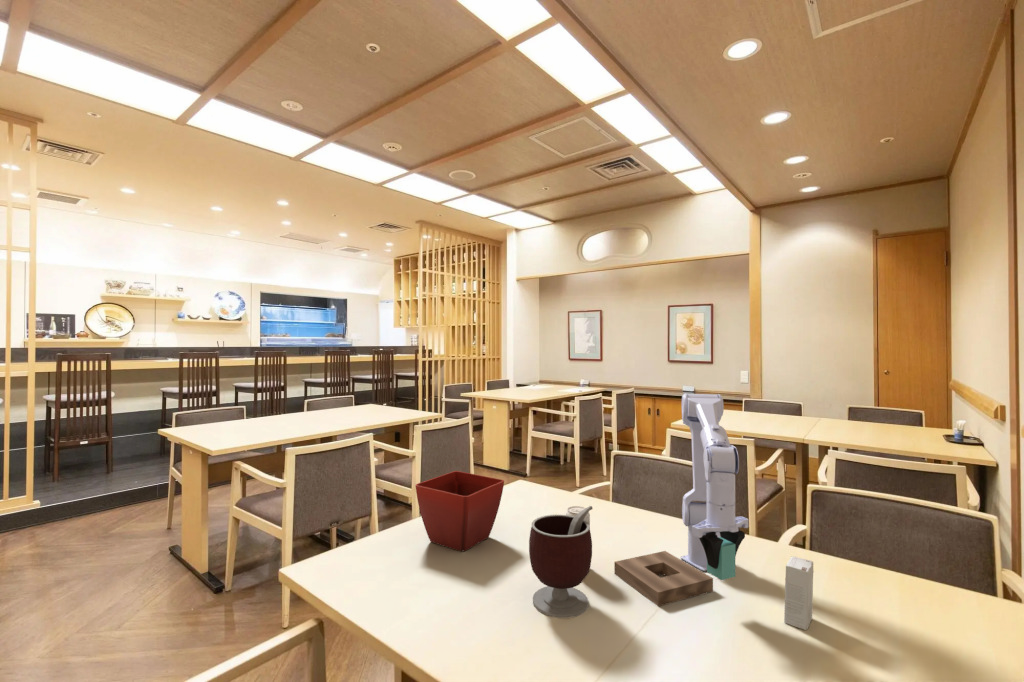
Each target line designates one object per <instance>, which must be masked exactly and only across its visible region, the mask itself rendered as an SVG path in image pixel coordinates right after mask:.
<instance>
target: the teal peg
mask: <svg viewBox="0 0 1024 682" xmlns="http://www.w3.org/2000/svg"><path fill="white" fill-rule="evenodd" d="M718 538H720V539H723V540H724V541H723V543H722V545H721V548H720V553H719V565H718V568H717V569H714V568H713V567H711V566H709V565H708V562H707V570H706V573H707V574H710V575H711V576H713V577H715V578H717V579H718V580H721V581H724V580H727V579H732V578H736V557H735V544H734V543H732V542H730V541H728V540H726V539H724V538H722V537H718Z"/></svg>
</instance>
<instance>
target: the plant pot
mask: <svg viewBox="0 0 1024 682" xmlns="http://www.w3.org/2000/svg"><path fill="white" fill-rule="evenodd" d="M504 485H505V480H504V479H500V478H497V477H495V478H494V477H490V476H485V475H482V474H481V475H480V474H476V473H472V472H471V473H469V472H465V471H460V470H454V471H450V472H448V473H445V474H441V475H440V476H436V477H434V478H431V479H428V480H425V481H421V482H419V483H416V484H415V492H416V498H417V504H418V508H419V512H420V516H421V519H422V523H423V525H424V529H425V532H426V534H427V536H428V540H429V541H430V542H431V543H434V544H437V545H440V546H442V547H445V548H449V549H453V550H456V551H459V552H465V551H467V550H469V549H471V548H473V547H475V546H476V545H478V544H479V543H481V542H484V541H485V540H487V539H488V538H489V537H490V535H491V532H492V529H493V527H494V524H495V521H496V518H497V515H498V513H499V509H500V505H501V500H502V495H503V492H504V491H503V490H504Z"/></svg>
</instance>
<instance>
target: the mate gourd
mask: <svg viewBox="0 0 1024 682" xmlns="http://www.w3.org/2000/svg"><path fill="white" fill-rule="evenodd" d="M592 510H593V506H592V505H589V506H588V507H585V509H584V510H582V511H581V512H579V513H578V514H577V515H576V516H575V517H574V516H569V515H566V514H548V515H543V516H539V517H537V518H535V519H534V520H533V521H532V522H531V527H530V532H529V540H528V553H529V560H530V562H529V563H530V566H531V570H532V572H533V574H534V575H535V576H536V577H537V579H538V580H539V581H540V583H542V585H545V586H544V587H541V588H540V589H537V590H536V591H535V592H534V593H533V596H532V605H533V607H534V608H535V609H536V610H537V611H538V612H540V613H541V614H543V615H546V616H548V617H552V618H557V619H569V618H575V617H577V616H580V615H582V614H583V613H585V612H586V611H587V610H588V608H589V598H588V597H587V595H586V594H585V593H584V592H582V591H581V590H580V589H578V588H576V587H578V586H579V585H581V583H583V581H584V580H585V579H586V577H587V576H588V575H589V572H590V569H591V565H592V564H591V563H592V557H593V541H592V533H591V528H590V527H591V526H589V524H588V523H587V522H586V521H585V520H584V518H585V516H586V515H587V513H588V512H589V513H590V511H592ZM589 528H590V529H589Z"/></svg>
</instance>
